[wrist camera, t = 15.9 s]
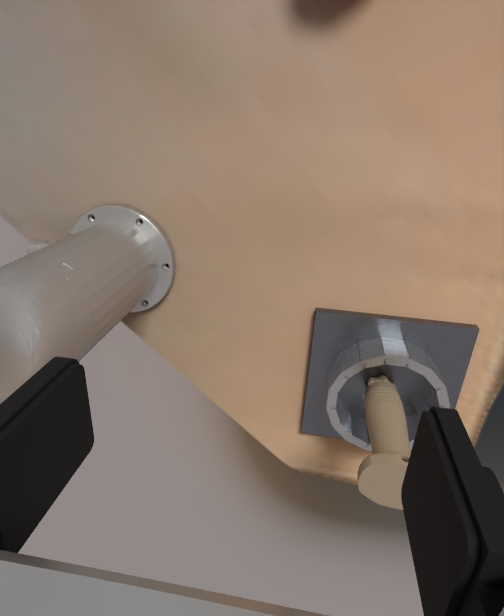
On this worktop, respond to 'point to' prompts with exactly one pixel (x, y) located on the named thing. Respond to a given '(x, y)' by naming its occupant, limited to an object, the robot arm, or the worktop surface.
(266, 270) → the worktop surface
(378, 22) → the worktop surface
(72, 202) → the worktop surface
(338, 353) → the duct collar
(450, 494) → the robot arm
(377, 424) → the handle
